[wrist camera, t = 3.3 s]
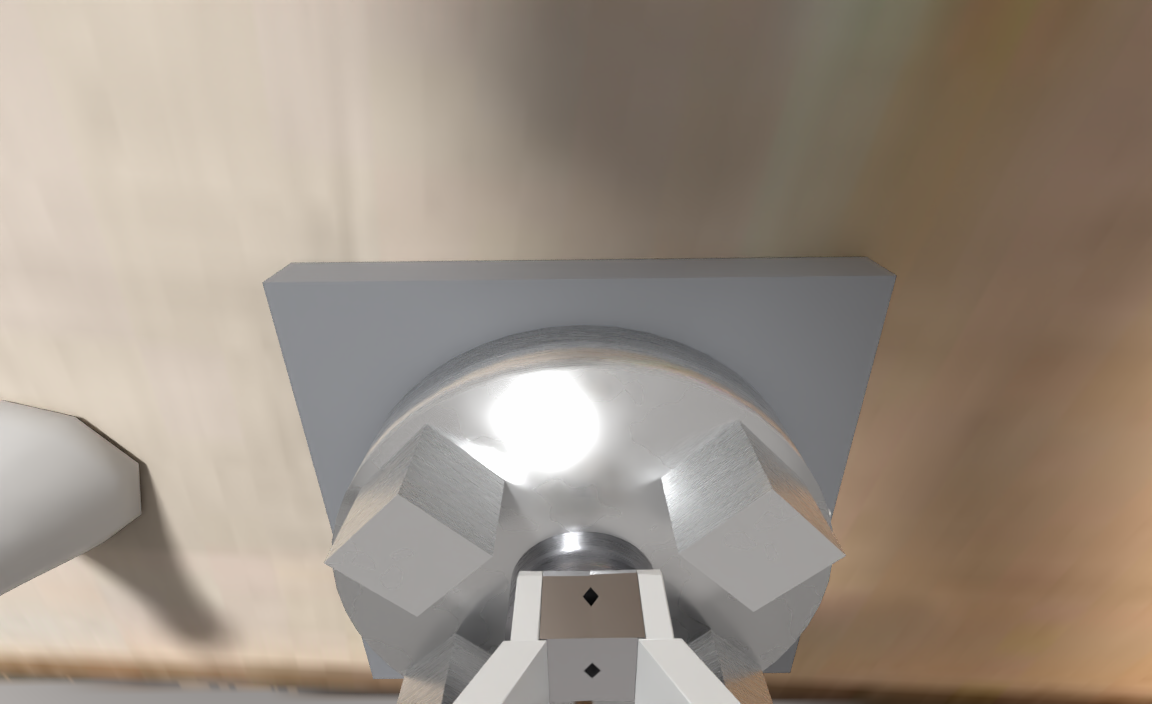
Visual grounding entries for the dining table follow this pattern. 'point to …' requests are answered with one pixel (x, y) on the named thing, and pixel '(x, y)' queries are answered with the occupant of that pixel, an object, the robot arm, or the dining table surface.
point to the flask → (57, 491)
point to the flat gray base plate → (567, 298)
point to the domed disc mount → (580, 505)
